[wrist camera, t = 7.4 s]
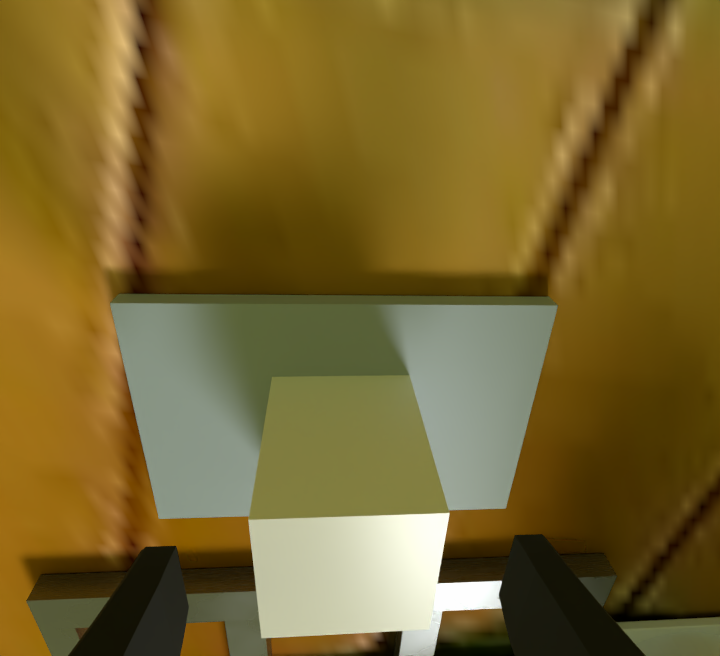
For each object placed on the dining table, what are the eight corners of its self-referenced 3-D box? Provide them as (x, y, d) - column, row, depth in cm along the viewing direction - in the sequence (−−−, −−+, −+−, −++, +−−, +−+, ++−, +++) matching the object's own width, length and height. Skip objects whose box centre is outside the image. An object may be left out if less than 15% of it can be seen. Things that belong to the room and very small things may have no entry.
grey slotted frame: (603, 553, 20) (617, 575, 19) (553, 672, 24) (562, 695, 23) (40, 574, 18) (26, 601, 17) (94, 699, 22) (84, 725, 21)
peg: (409, 375, 14) (449, 513, 10) (399, 475, 16) (429, 629, 12) (272, 377, 14) (248, 519, 9) (278, 478, 16) (261, 638, 11)
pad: (548, 296, 14) (557, 305, 13) (500, 495, 18) (505, 508, 17) (118, 293, 13) (110, 303, 12) (164, 504, 17) (158, 518, 16)
